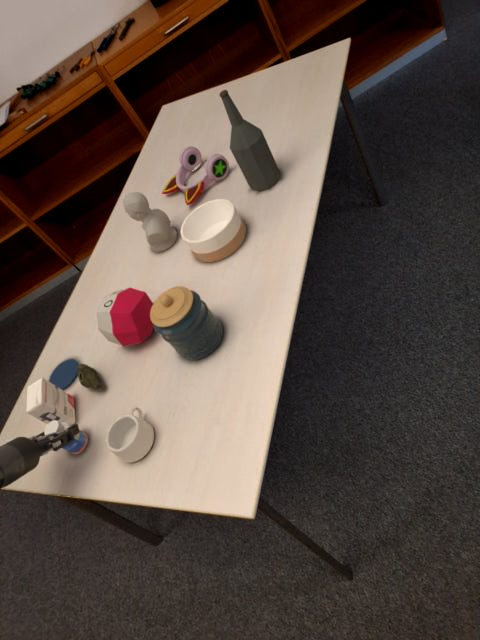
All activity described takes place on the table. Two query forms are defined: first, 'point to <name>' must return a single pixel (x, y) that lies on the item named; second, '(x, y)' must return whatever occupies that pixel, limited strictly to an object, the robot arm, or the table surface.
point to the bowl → (213, 230)
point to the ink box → (49, 403)
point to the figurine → (150, 221)
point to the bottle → (250, 149)
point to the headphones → (189, 160)
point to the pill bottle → (73, 446)
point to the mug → (130, 437)
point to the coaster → (64, 374)
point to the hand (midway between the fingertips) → (63, 430)
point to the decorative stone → (89, 377)
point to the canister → (186, 323)
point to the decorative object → (125, 317)
